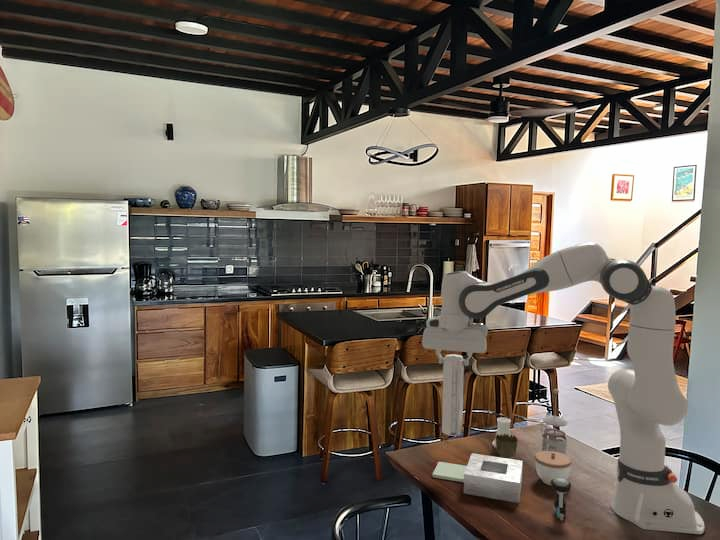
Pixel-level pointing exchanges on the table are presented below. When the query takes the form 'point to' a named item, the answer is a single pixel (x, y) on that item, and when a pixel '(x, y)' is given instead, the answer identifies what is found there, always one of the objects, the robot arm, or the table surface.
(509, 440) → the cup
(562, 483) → the push button
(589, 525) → the table surface
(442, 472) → the pad
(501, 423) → the vase
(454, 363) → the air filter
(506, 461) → the bore block
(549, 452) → the lidded jar
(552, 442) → the french press
